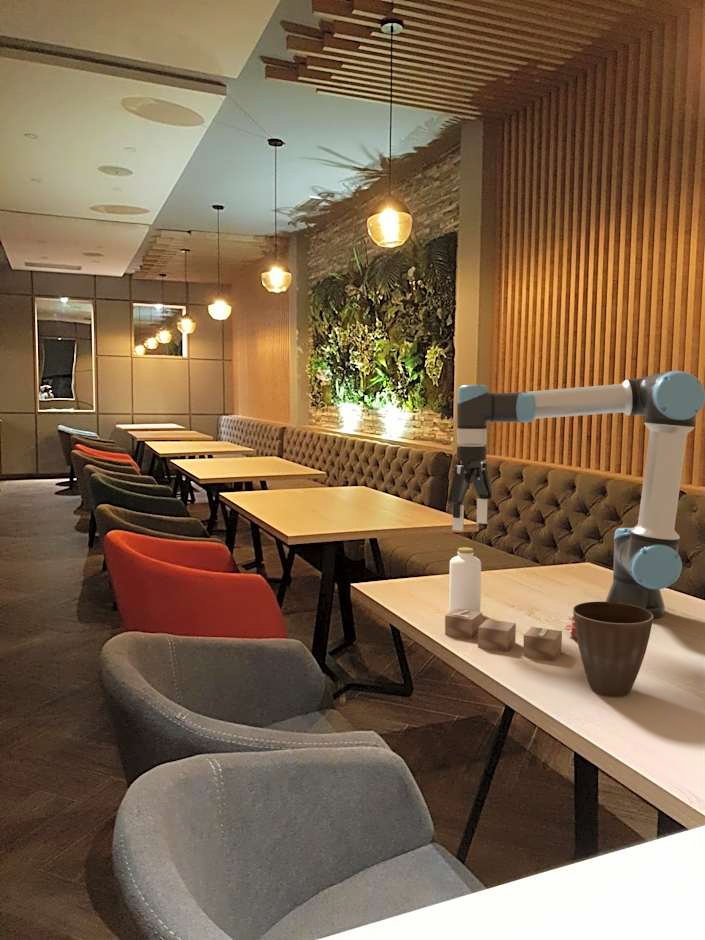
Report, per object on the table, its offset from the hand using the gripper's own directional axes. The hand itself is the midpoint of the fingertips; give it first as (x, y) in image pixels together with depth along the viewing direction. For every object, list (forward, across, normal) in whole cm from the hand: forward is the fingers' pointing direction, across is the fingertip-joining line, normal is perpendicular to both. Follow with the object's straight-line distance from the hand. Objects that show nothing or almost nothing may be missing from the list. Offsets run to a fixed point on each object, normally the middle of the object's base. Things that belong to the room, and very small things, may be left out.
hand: (470, 526), depth 191 cm
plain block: (+25, +14, +15) cm, 32 cm away
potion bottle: (+25, -4, -3) cm, 25 cm away
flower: (+25, -3, +29) cm, 39 cm away
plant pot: (+25, +26, +44) cm, 57 cm away
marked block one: (+25, +14, +26) cm, 38 cm away
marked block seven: (+25, +11, +4) cm, 27 cm away
